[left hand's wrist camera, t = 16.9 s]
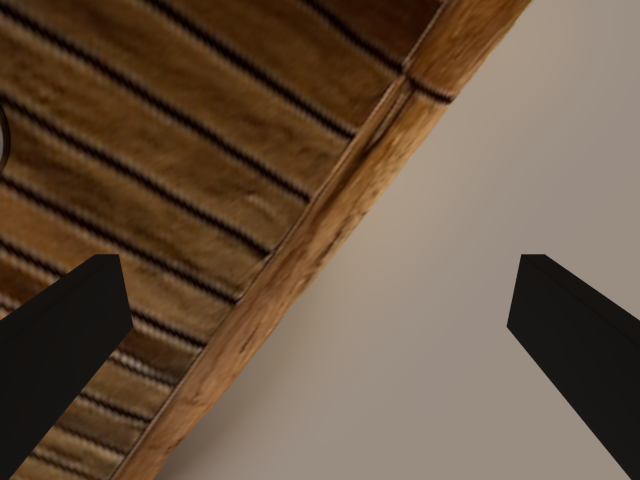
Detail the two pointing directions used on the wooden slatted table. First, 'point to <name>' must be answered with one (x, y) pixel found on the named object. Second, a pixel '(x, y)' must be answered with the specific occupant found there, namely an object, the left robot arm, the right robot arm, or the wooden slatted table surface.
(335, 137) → the wooden slatted table surface
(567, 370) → the left robot arm
